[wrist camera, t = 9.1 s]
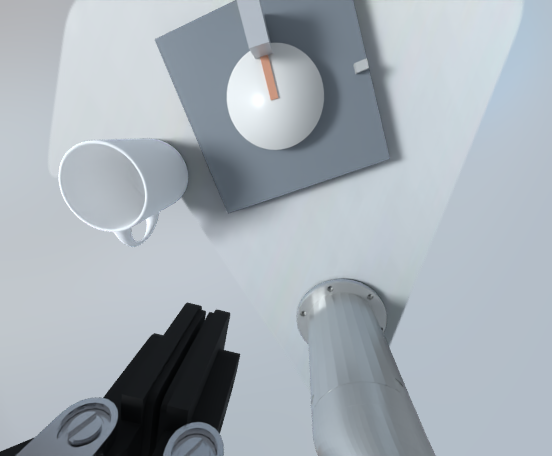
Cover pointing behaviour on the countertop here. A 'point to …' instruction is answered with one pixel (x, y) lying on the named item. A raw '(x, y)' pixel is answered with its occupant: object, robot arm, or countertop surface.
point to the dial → (272, 87)
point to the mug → (122, 183)
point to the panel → (335, 114)
